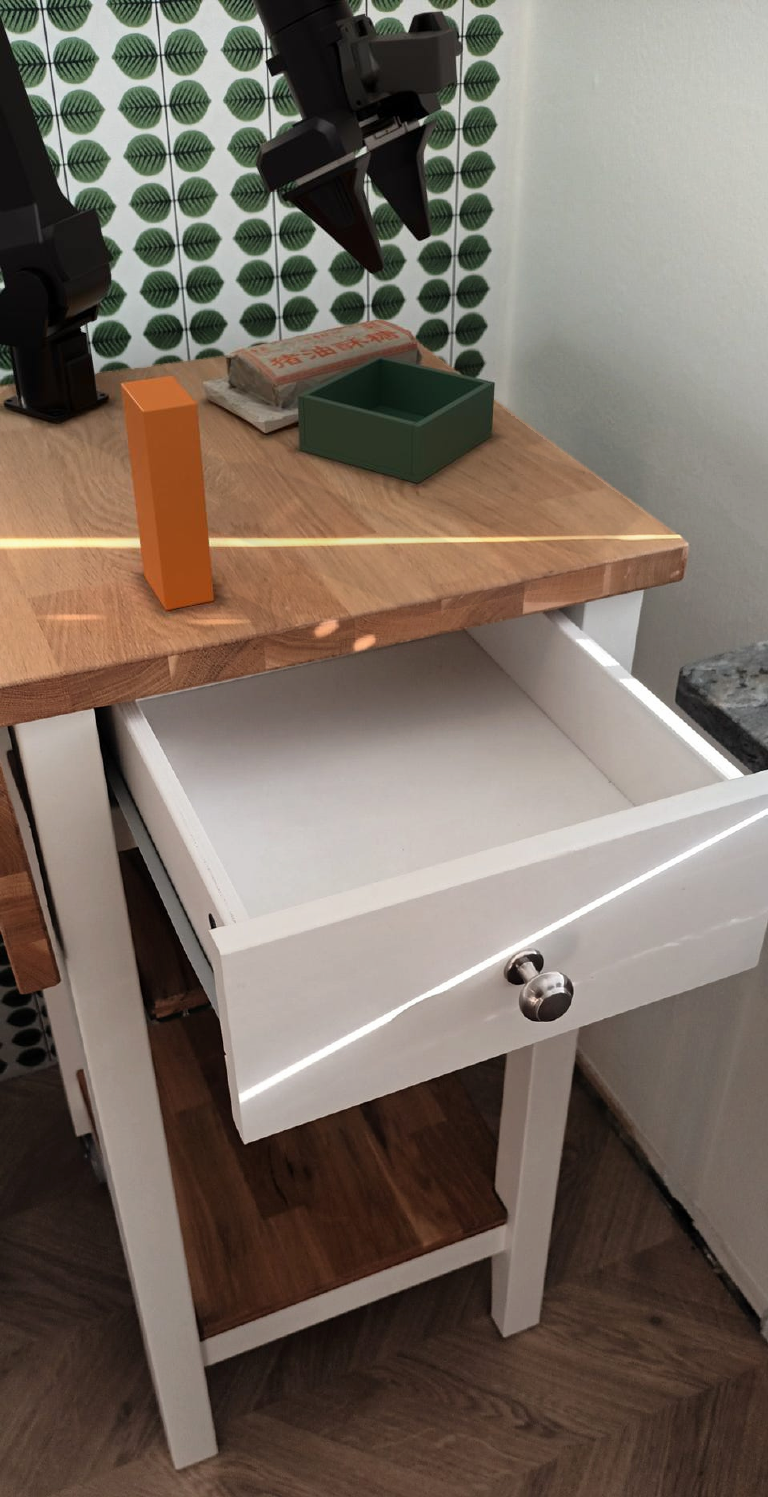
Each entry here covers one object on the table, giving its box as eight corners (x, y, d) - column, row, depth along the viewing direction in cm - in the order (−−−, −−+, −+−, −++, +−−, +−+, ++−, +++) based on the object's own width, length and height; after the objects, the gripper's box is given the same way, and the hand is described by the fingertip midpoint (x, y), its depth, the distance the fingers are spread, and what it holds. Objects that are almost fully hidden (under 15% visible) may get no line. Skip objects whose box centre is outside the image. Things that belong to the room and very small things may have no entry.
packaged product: (370, 306, 113) (439, 335, 107) (370, 359, 116) (437, 390, 110) (197, 344, 104) (261, 378, 98) (202, 400, 107) (264, 437, 101)
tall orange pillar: (144, 576, 82) (120, 382, 74) (190, 566, 83) (172, 375, 75) (165, 611, 78) (143, 411, 71) (214, 600, 79) (197, 403, 72)
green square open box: (299, 450, 99) (297, 395, 96) (378, 407, 106) (378, 355, 104) (418, 483, 94) (419, 426, 91) (492, 436, 101) (495, 382, 99)
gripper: (354, -27, 71) (459, 245, 77) (461, -49, 85) (542, 182, 91) (204, 60, 76) (313, 306, 83) (327, 26, 90) (412, 239, 97)
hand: (402, 254), depth 88 cm, fingers open, 9 cm apart
